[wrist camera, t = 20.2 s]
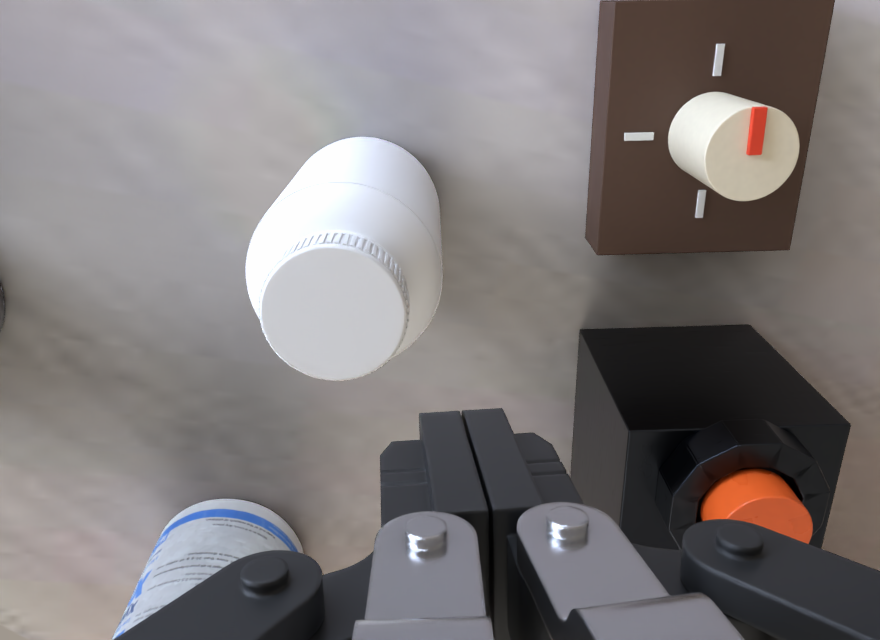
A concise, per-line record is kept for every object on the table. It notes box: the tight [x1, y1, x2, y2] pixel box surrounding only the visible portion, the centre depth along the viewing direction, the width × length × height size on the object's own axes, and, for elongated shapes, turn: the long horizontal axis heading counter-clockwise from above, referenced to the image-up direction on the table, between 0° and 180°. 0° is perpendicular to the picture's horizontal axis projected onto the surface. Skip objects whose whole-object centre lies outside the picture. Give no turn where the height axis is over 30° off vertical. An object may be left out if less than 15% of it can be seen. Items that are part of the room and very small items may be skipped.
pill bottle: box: [246, 137, 443, 381], centre depth 32 cm, size 8×8×15 cm
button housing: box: [570, 325, 851, 550], centre depth 39 cm, size 10×12×13 cm
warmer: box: [585, 0, 835, 255], centre depth 37 cm, size 10×12×3 cm
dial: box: [668, 92, 800, 201], centre depth 33 cm, size 4×4×5 cm
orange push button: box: [700, 468, 813, 544], centre depth 31 cm, size 4×4×2 cm
